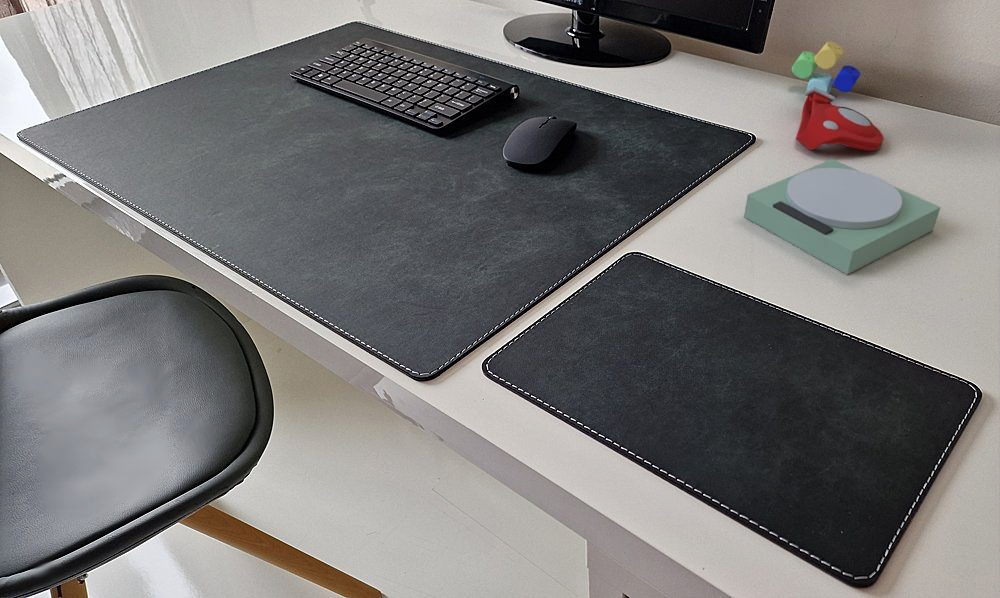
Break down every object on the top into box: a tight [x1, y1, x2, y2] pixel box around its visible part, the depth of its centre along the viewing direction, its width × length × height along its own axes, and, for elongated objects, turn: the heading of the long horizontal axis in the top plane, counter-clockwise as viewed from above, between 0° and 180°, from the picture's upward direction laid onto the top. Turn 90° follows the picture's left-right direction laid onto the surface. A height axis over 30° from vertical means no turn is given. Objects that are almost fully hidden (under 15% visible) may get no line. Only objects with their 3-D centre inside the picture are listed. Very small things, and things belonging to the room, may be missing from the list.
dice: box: [791, 41, 861, 94], centre depth 97 cm, size 8×3×6 cm, turn 58°
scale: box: [743, 158, 941, 275], centre depth 74 cm, size 12×12×3 cm
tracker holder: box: [795, 87, 884, 152], centre depth 88 cm, size 12×4×10 cm
